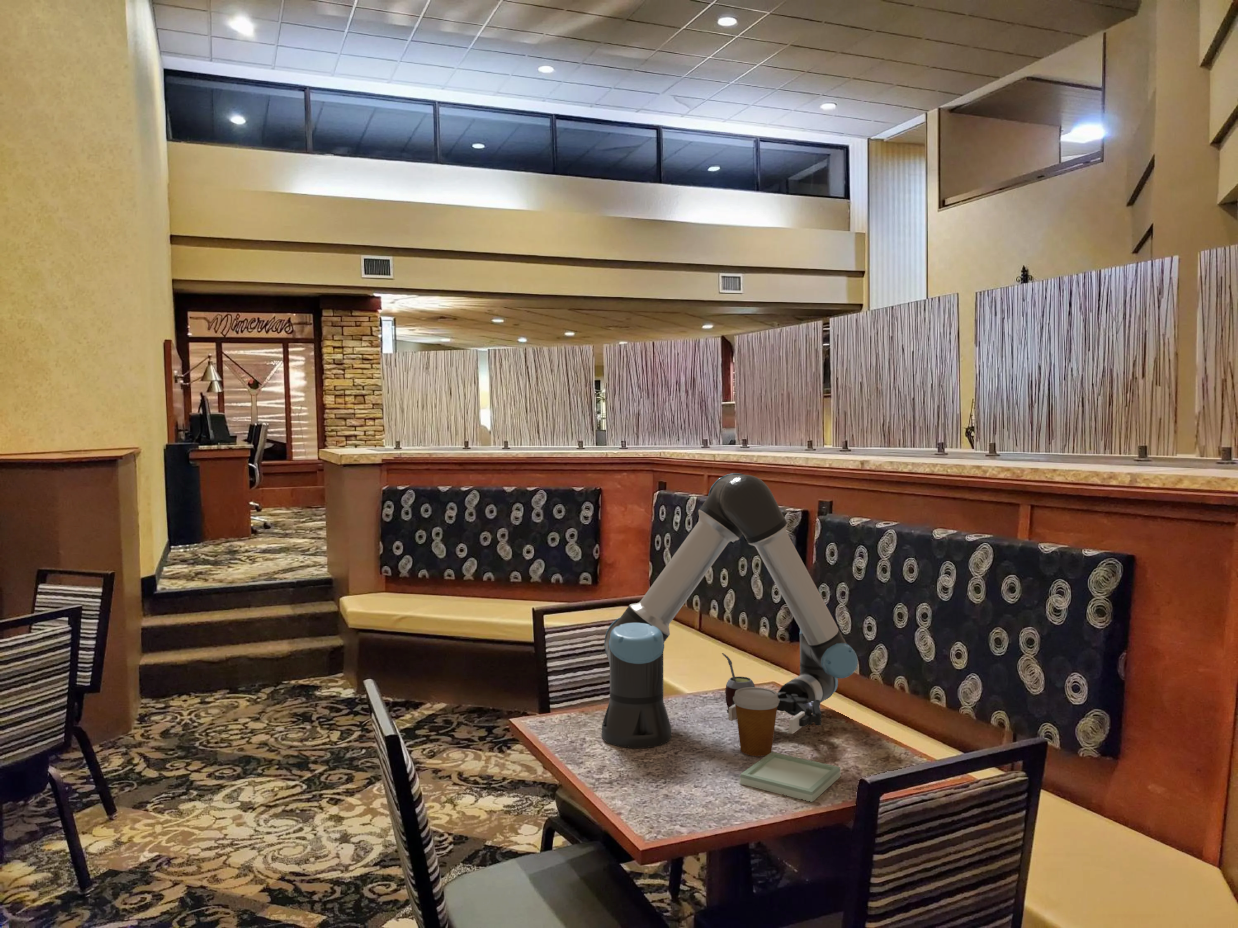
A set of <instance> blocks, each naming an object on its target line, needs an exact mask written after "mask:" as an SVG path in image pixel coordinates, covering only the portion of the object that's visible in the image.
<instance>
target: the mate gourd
mask: <svg viewBox="0 0 1238 928" xmlns="http://www.w3.org/2000/svg"><path fill="white" fill-rule="evenodd" d="M721 654H722V656H723V657H724V658H726V659H727V663H728V665H729V668H730V673H731V677H729V679H728V680H727V682H726V684H725V689H724V690H725V692H724V693H725V703H726V706H727V710H726V713H727V714H729V707H731V706H732V705H733V697H734V696H735V691H736V690H738V689H741V688H747V687H756V686H755V682H754V681H753V680H752V679H751V678H749V677H746V676H735V672H734V669H733V668H734V667H733V662H732V660H731V659H730V657H729V656H728V655H726V654H725V653H721Z"/></svg>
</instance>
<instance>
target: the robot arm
mask: <svg viewBox="0 0 1238 928" xmlns="http://www.w3.org/2000/svg"><path fill="white" fill-rule="evenodd" d="M698 516H699V517H698V522H697V523H696V524H695V525H694V527H693V528H692V529H691V531H690V532H689V534H687V536H686V538H685V539H684V541H683V542H682V543H681V545H680V546H679V548H677V550H676V552H674V554H673V556H672V557H671V558H670V559H669V561H668V563H667V564H666V565H665V567H664V568H663V570H662V571H661V572H660V574H659V575H658V576H657V578H656V579H655V580H654V582H653V583H652V585H651V586H650V587H649V588H648V590H647V592H645V594H644V595H643V597H642V598H641V600H640V601H639V602H637V603H636V602H635V603H631V604H629V605H628V606H627V608H626V609H625V611H624V612H623V613H622V615H621V616H620V617H617V618H616V619H615V620H614V621H613V622H612V623H611V624H610V625H609V626H608V628H607V630H606V632H605V635H604V642H603V643H604V645H603V646H604V649H605V650H604V651H605V654H606V657H607V659H608V663H609V701H608V704H607V708H606V712H605V714H604V718H603V721H602V723H601V738H602V739H603V741H605V742H607V743H608V744H610V745H614V746H617V747H622V748H629V749H631V748H633V749H644V748H645V749H646V748H652V747H656V746H657V747H658V746H661V745H663V744H666V743H668V742H669V741H671V739H672V724H671V722H670V719H669V715H668V711H667V709H666V704H665V702H664V650H665V642H666V641H667V639H668V638H669V637H670V635H671V633H670V624H671V623H672V621H673V619H674V618H675V617H676V616H677V614H678V613H679V611H680V610H681V608H682V607H683V606H684V605H685V604H686V602H687V600H689V598H690V596H691V595H692V593H693V592H694V591H695V590H696V588H697V587H698V586H699V584H700V582H701V581H702V580H703V579H704V577H705V576H706V574H707V573H708V571H709V570H710V569H711V567H712V566H713V565H714V564H715V562H716V560H717V559H718V558H719V556H720V555H721V554H722V552H723V551H724V550H725V548H726V547H727V545H728V544H729V543H730V542H734V541H739V540H740V539H741V537H742V536H744V538H745V540H746V542H747V544H748V545H750V546H753V547H755V549H756V550H757V553H758V554H759V556H760V558H761V560H762V562H763V563H764V566H765V567H766V570H767V571H768V573H769V574H770V577H771V578H772V581H773V582H774V584H775V586H776V587H777V590H778V591H779V593H780V595H781V597H782V598H783V600H784V601H785V603H786V606H787V607H788V609H789V611H790V613H791V615H792V616H793V618H794V621H795V622H796V624H797V625H798V628H799V632H798V633H799V675H798V676H796V677H794V678H793V679H791V680H790V681H788V682H786V683H783V685H782V686H781V687H780V688H779V690H778V692H776V693H777V695H778V698H779V700H780V702H779V703H778V706H777V711H780V712H786V713H787V714H788V715H790V716H792V717H790V719H788V733H789V734H792V735H793V734H794V733H795V732H797V731H799V730H800V729H801V728H804V727H807V726H810V725H812V724H814V725H815V726H818V727H820V726H822V710H821V703H822V702H824V701H826V700H828V699H829V698H831V697H832V695H833V694H834V693H835V692H836V691H837V689H838V685H839V679H845V678H848V677H851V676H852V675H853V674H854V673H855V672H856V670H857V668H858V663H859V659H858V656H857V653H856V651H855V650H854V649H853V647H852V646H851V645H850V644H848V643H847V642H846V640H845V637H843V634H842V633H841V631H840V629H839V627H838V625H837V623H836V621H835V620H834V618H833V616H832V614H831V612H830V610H829V608H828V607H827V605H826V603H825V601H824V599H823V597H822V595H821V594H820V592H819V590H818V588H817V586H816V584H815V582H814V580H813V579H812V576H811V574H810V573H809V571H808V569H807V567H806V565H805V564H804V562H803V560H802V558H801V556H800V554H799V552H798V551H797V549H796V547H795V545H794V543H793V541H792V539H791V537H790V535H789V534H788V532H787V527H788V524H789V523H788V522H787V520H786V518H785V516H784V514H783V512H782V510H781V508H780V506H779V504H778V502H777V500H776V498H775V496H774V494H773V492H772V490H771V489H770V488H769V486H768V485H767V484H766V483H765V482H764V481H763V480H762V479H761V478H758V477H757V476H754V475H751V474H743V473H737V472H736V473H735V472H734V473H733V472H732V473H728V474H725V475H723V476H721V477H719V478H718V479H717V480H716V481H715V482H714V483H713V484H712V485H711V487H710V489H709V491H708V495H707V498H706V500H704V502H703V503H702V505H701V506H700V507H699V509H698ZM735 720H737V715H736V706H735V703H734V701H733V705H732V706H731V707H729V713H728V721H731V722H732V721H735Z"/></svg>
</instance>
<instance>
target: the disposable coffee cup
mask: <svg viewBox="0 0 1238 928" xmlns="http://www.w3.org/2000/svg"><path fill="white" fill-rule="evenodd" d="M777 693H778V692H776V691H774V690H773V689H769V688H765V687H758V686H755V687H747V688H741V689H738V690H736V691H735V696H734V697H733V701H734V703H735V706H736V715H737V718H736V722H737V730H738V736H739V737H738V739H739V746H740V752H741V753H742V754H744V755H747V756H749V757H750V756H751V757H765V756H767V755H768V754H770V753H771V752H773V751H772V750H773V742H774V735H775V726H776V719H777V713H778V710H777V706H778V703H779V702H780V700H779V698H778V695H777Z"/></svg>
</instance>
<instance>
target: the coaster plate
mask: <svg viewBox="0 0 1238 928" xmlns="http://www.w3.org/2000/svg"><path fill="white" fill-rule="evenodd" d="M739 776H740V778H739V784H740V785H744V786H748V787H752V788H755V789H760V790H764V791H767V792H771V793H775V794H779V795H782V794H784V795H783V796H786V795H787V797H791V798H794V799H799V800H801V799H803V800H802V801H805V800H806V802H809V801H810V802H809V803H813V802H814V801H816V800H817V798H819V797H820V796H821V795H822V794H823V793H824V792H825V791H826V790H827V789H828V788H830V787H831V786H832V785H833V784H834V783H836V781H837V780H838V779H840V777H841V766H837V765H832V764H828V763H824V762H819V761H814V760H810V759H806V758H801V757H797V756H793V755H788V754H784V753H780V752H774V751H772V752H771V753H770V754H768V755H766V756H763V757H762V758H761V759H760V760H758V761H757V762H755V763H753V765H751V766H750V767H748V768H747V769H746V770H744V771H743V772H741V773H740V774H739Z"/></svg>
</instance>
